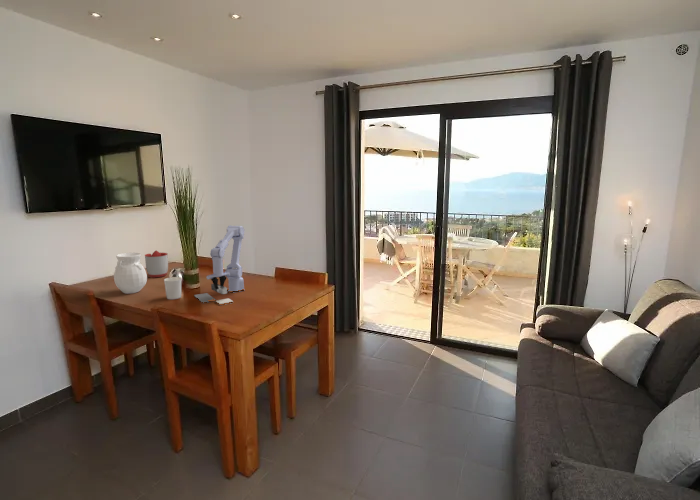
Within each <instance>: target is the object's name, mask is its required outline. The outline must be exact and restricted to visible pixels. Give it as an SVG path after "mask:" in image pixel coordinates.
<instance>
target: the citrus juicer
mask: <svg viewBox="0 0 700 500" xmlns="http://www.w3.org/2000/svg"><path fill="white" fill-rule="evenodd" d="M144 259H145V270H146V273H147V274H148V275H147V276H148V277H150V278H153V279H155V278H162V277H166V276H167V275H168V270H169V259H168V253H167V252H159V251H158V250H155V251H154V252H152V254H151V253H146V254H144Z"/></svg>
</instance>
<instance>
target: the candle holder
mask: <svg viewBox="0 0 700 500" xmlns="http://www.w3.org/2000/svg"><path fill="white" fill-rule="evenodd" d="M163 283H164V289H165V296H166V299H167V300H177V299H181V298H182V277H180V276H174V277H172V276H170V277H167V278H164V279H163Z"/></svg>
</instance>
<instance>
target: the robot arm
mask: <svg viewBox="0 0 700 500" xmlns="http://www.w3.org/2000/svg"><path fill="white" fill-rule="evenodd" d="M244 237H245V229H244V226H243V225H228V226H227V227H226V233H225V235H224V237H223V238H222V239H220V240H219V241H218V243H217V244H216V246H214V247H213V248H212V249H211V250H210V253H209V254H210V255H209V256H210V257H211V260H212V272H213V273H212V274H208V275H206V280H210V281H211V282H212V284H214V286H215V289H218V284H219V285H221V286H224V285H225V282H226V279H228V280H227V281H228V289H229V290H228V291H227V292H229V291H238V290H242V289H244V290H245V284H244V283H245V282H244V278H243V267H242V266H241V264H240V256H241V250H242V243H243V242H242V241H243V239H244ZM232 239H233V245H232V251H231V252H232V253H231V260H230V263H229V264H227V266H226V268H225V271H224V264H223V263H224V262H223V259H224V258H223V257H224V256H225V252H226V250H227V248H228V246H229V242H230V240H232ZM218 278H219V279H218ZM224 287H225V286H224Z"/></svg>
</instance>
